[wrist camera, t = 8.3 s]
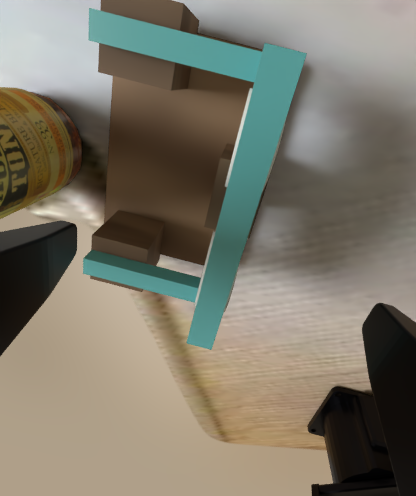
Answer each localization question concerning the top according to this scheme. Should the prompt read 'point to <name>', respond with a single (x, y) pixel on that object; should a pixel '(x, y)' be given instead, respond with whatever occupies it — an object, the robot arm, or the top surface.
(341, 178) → the top surface
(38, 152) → the sauce bottle
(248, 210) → the glasses
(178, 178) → the stand
